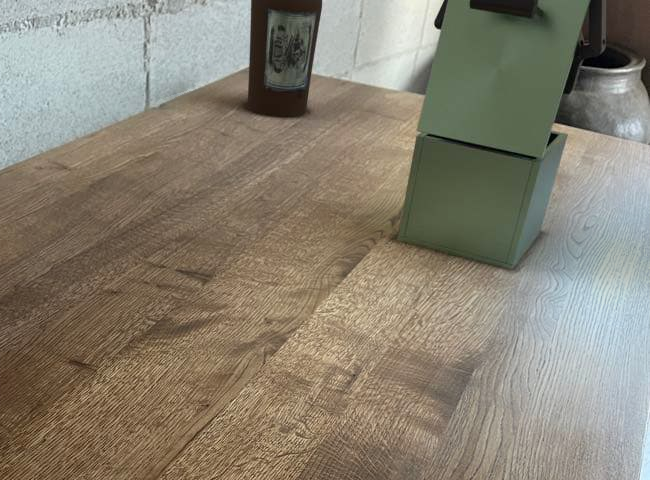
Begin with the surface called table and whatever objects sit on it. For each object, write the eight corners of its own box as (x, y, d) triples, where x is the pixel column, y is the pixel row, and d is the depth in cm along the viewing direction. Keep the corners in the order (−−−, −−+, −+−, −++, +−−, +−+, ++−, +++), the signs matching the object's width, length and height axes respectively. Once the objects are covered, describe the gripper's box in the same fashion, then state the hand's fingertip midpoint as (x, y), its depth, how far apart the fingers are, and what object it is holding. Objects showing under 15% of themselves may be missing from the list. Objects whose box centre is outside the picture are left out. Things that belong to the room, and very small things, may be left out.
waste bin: (432, 209, 116) (453, 110, 109) (539, 235, 112) (568, 133, 104) (396, 242, 106) (416, 135, 99) (511, 272, 102) (540, 162, 95)
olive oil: (237, 100, 149) (250, -84, 133) (300, 102, 151) (319, -79, 136) (251, 119, 141) (266, -75, 126) (317, 121, 144) (340, -69, 128)
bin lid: (455, -23, 92) (437, -35, 86) (591, -2, 88) (582, -12, 82) (418, 131, 99) (399, 130, 93) (542, 158, 95) (531, 159, 89)
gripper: (688, -123, 85) (610, 128, 99) (454, -150, 93) (412, 88, 107) (679, -121, 80) (597, 144, 94) (431, -150, 87) (389, 101, 101)
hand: (499, 114), depth 100 cm, fingers closed on ink cartridge box, 10 cm apart
